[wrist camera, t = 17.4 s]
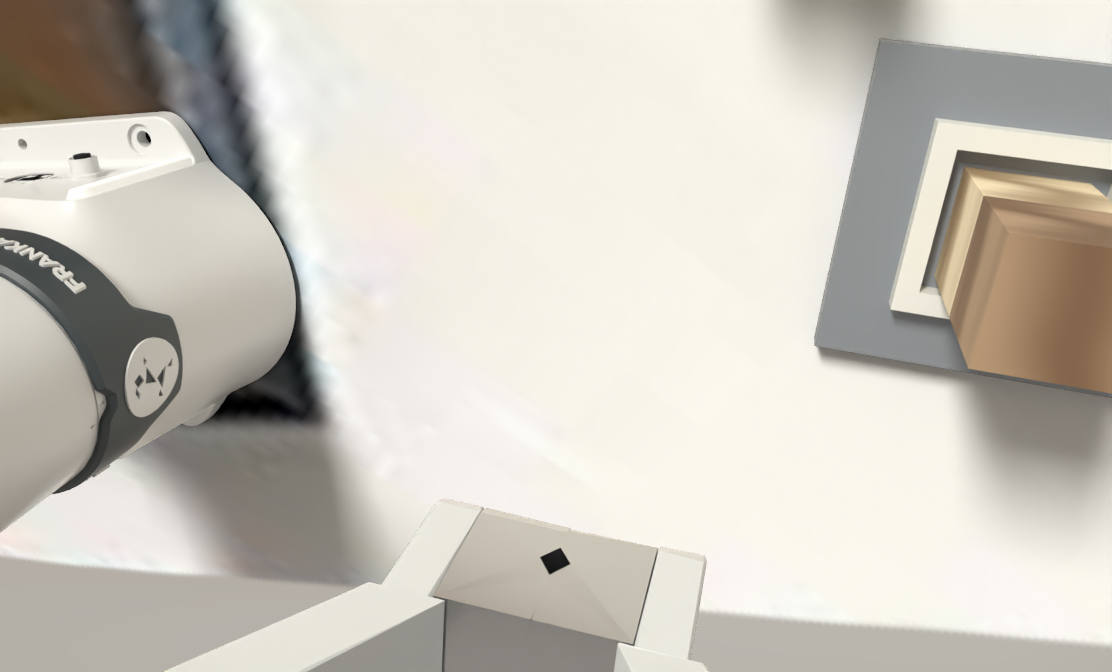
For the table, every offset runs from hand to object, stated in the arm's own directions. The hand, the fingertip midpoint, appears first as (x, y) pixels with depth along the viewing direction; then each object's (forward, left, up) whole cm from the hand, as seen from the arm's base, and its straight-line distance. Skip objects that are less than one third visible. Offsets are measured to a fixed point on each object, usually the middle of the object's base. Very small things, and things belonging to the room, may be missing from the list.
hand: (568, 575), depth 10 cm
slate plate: (+12, -4, -35) cm, 37 cm away
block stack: (+12, -4, -34) cm, 36 cm away
